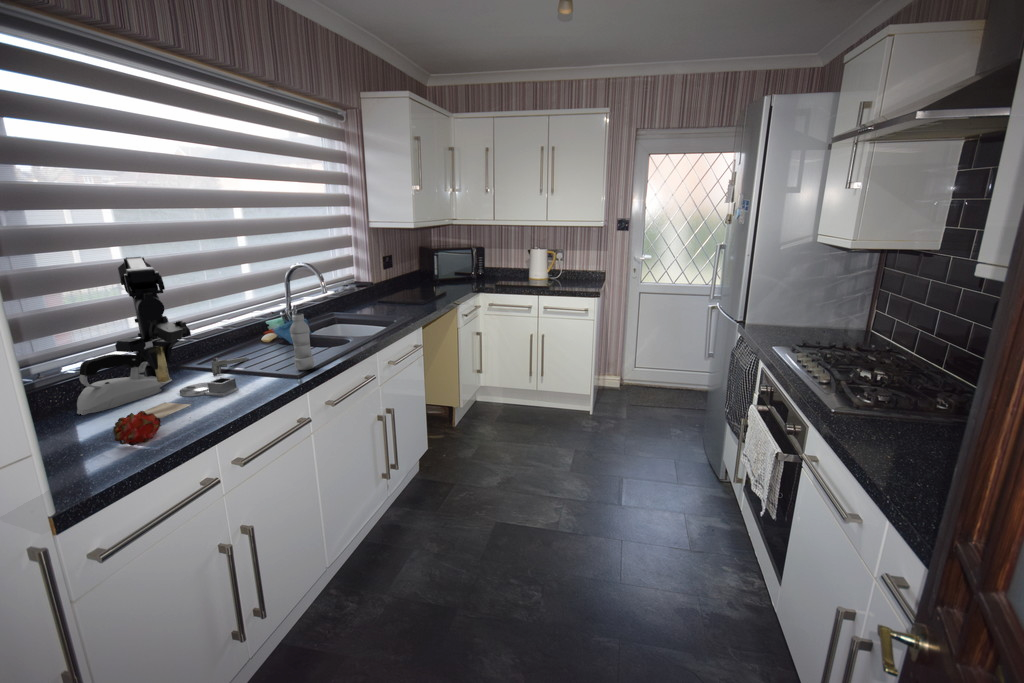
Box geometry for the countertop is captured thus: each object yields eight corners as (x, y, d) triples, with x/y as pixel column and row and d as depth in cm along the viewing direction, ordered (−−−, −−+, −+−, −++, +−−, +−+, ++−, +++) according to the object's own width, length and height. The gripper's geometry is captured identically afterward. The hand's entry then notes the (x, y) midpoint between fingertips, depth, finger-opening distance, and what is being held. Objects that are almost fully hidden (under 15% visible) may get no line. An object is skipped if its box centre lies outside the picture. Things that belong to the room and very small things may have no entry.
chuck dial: (171, 396, 161) (168, 383, 160) (200, 384, 171) (198, 372, 170) (217, 400, 157) (215, 387, 156) (244, 387, 167) (242, 375, 166)
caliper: (216, 376, 181) (213, 359, 180) (213, 376, 181) (210, 359, 180) (249, 359, 201) (246, 344, 199) (246, 359, 201) (243, 344, 200)
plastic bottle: (309, 372, 182) (301, 316, 176) (291, 372, 183) (283, 316, 178) (318, 367, 188) (311, 312, 183) (301, 366, 189) (294, 312, 184)
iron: (174, 390, 168) (165, 345, 164) (90, 418, 146) (78, 368, 142) (153, 386, 172) (143, 343, 168) (68, 413, 151) (55, 364, 147)
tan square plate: (133, 417, 146) (133, 415, 146) (165, 404, 155) (164, 402, 155) (161, 419, 143) (161, 417, 143) (191, 406, 153) (191, 404, 152)
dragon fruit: (113, 458, 124) (160, 444, 136) (134, 441, 122) (179, 427, 134) (96, 429, 125) (143, 417, 137) (115, 411, 123) (162, 400, 134)
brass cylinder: (155, 382, 147) (147, 348, 145) (164, 378, 150) (157, 345, 148) (163, 382, 147) (156, 348, 144) (172, 379, 149) (165, 345, 147)
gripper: (140, 322, 133) (153, 380, 137) (200, 308, 150) (210, 359, 154) (107, 321, 136) (121, 377, 140) (170, 307, 153) (180, 357, 157)
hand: (161, 367), depth 147 cm, fingers closed on brass cylinder, 3 cm apart
